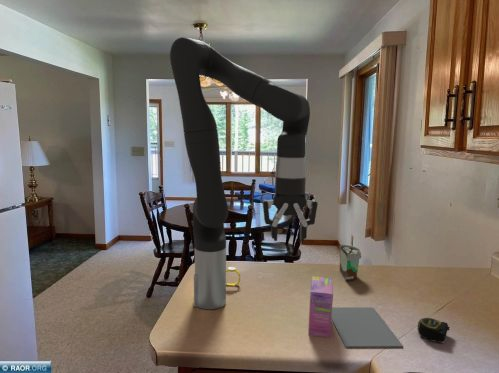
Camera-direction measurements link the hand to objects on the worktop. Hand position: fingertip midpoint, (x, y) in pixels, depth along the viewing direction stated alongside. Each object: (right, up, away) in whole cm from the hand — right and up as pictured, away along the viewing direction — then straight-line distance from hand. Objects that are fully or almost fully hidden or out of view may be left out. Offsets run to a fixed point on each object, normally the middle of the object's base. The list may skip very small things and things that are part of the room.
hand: (288, 240), depth 96 cm
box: (+9, -24, +4) cm, 26 cm away
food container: (+27, -19, +39) cm, 51 cm away
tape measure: (+37, -25, 0) cm, 45 cm away
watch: (-16, -20, +30) cm, 39 cm away
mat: (+20, -24, +4) cm, 31 cm away
